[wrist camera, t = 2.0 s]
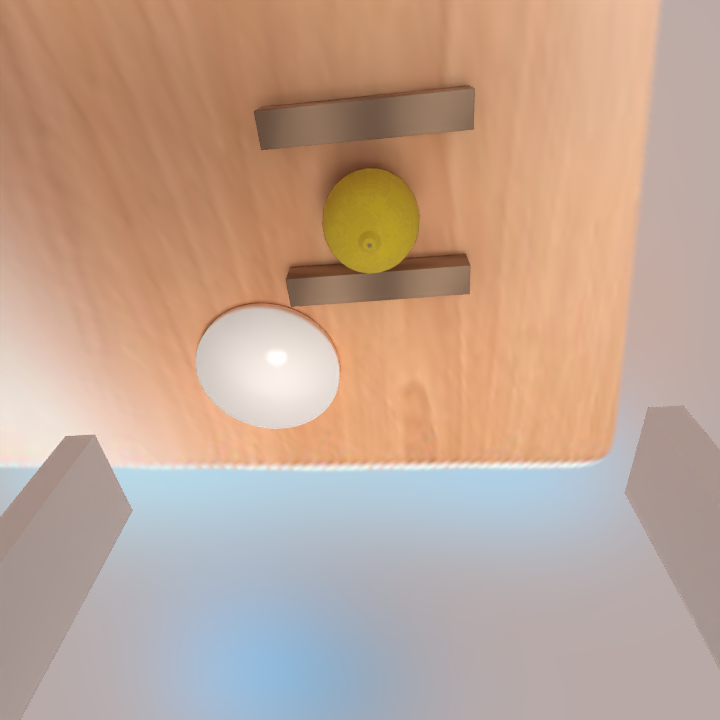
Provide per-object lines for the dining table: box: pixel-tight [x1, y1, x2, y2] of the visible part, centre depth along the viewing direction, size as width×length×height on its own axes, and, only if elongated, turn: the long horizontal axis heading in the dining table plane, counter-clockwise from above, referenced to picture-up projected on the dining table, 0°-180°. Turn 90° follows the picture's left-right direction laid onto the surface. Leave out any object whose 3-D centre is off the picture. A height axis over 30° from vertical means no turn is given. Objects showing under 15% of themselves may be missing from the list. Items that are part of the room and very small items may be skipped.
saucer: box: [196, 303, 340, 429], centre depth 39 cm, size 11×11×1 cm
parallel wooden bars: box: [254, 86, 475, 307], centre depth 31 cm, size 12×12×2 cm
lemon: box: [322, 168, 420, 274], centre depth 28 cm, size 6×6×8 cm
